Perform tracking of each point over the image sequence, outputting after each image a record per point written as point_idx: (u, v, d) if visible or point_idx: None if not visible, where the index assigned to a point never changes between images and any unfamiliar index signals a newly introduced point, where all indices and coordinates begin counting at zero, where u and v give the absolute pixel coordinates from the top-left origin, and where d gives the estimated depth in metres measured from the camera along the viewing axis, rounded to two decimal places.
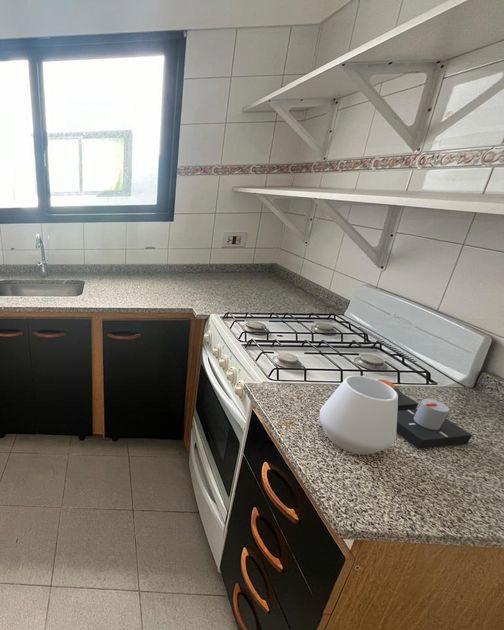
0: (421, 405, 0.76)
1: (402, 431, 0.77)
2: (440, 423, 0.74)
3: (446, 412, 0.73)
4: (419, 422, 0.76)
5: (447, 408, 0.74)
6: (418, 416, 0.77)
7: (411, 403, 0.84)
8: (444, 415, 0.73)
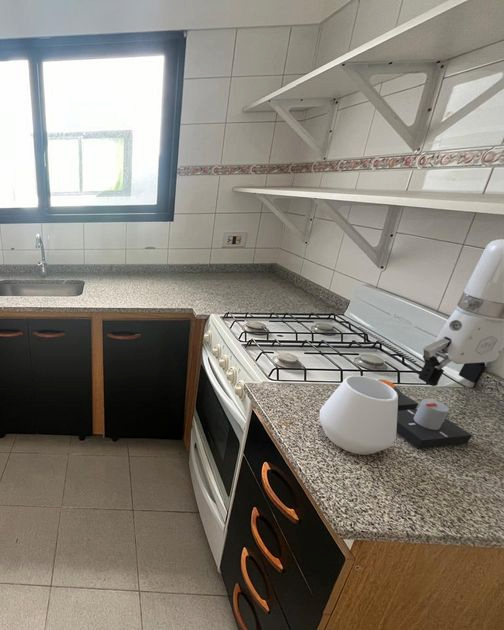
0: (421, 405, 0.76)
1: (402, 431, 0.77)
2: (440, 423, 0.74)
3: (446, 412, 0.73)
4: (419, 422, 0.76)
5: (447, 408, 0.74)
6: (418, 416, 0.77)
7: (411, 403, 0.84)
8: (444, 415, 0.73)
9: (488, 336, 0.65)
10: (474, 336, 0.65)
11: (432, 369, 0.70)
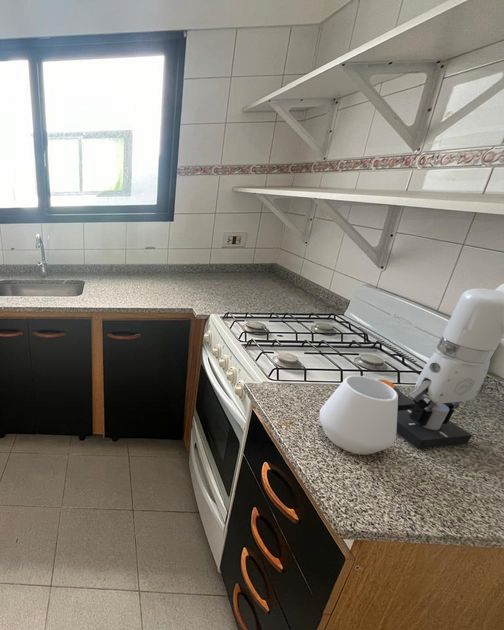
0: None
1: (402, 431, 0.77)
2: (440, 423, 0.74)
3: (446, 412, 0.73)
4: None
5: (447, 408, 0.74)
6: None
7: (411, 403, 0.84)
8: (444, 415, 0.73)
9: (465, 378, 0.69)
10: (452, 379, 0.69)
11: (421, 410, 0.74)
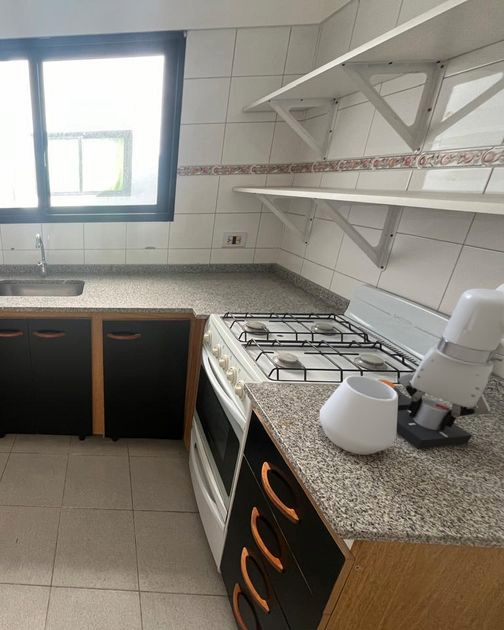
0: (444, 414, 0.73)
1: (402, 431, 0.77)
2: None
3: None
4: None
5: (429, 399, 0.77)
6: (441, 423, 0.75)
7: None
8: None
9: None
10: None
11: None
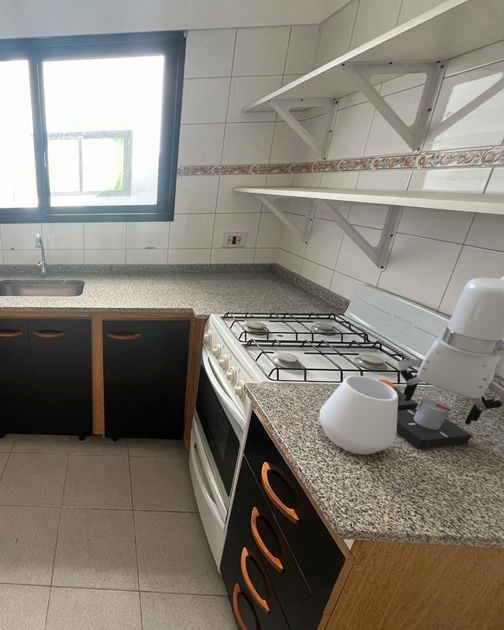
0: (444, 414, 0.73)
1: (402, 431, 0.77)
2: None
3: None
4: None
5: (429, 399, 0.77)
6: (441, 423, 0.75)
7: (411, 403, 0.84)
8: None
9: None
10: None
11: None
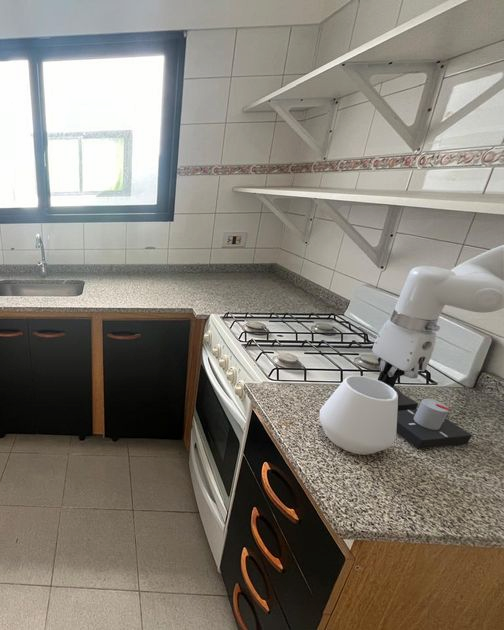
0: (444, 414, 0.73)
1: (402, 431, 0.77)
2: None
3: None
4: None
5: (429, 399, 0.77)
6: (441, 423, 0.75)
7: (411, 403, 0.84)
8: None
9: None
10: None
11: (396, 378, 0.84)
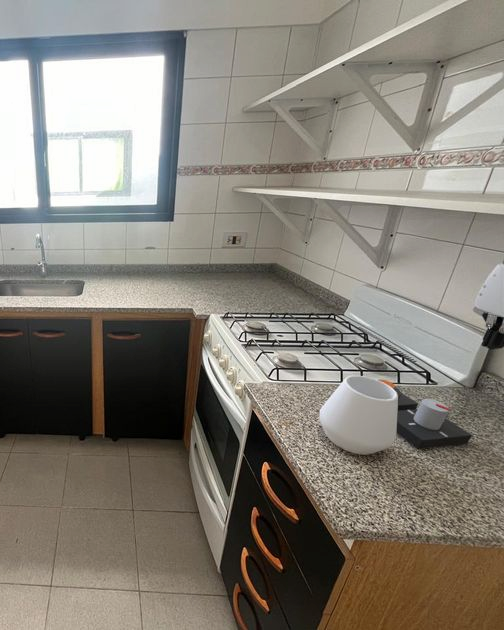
0: (444, 414, 0.73)
1: (402, 431, 0.77)
2: None
3: None
4: None
5: (429, 399, 0.77)
6: (441, 423, 0.75)
7: (411, 403, 0.84)
8: None
9: None
10: None
11: None
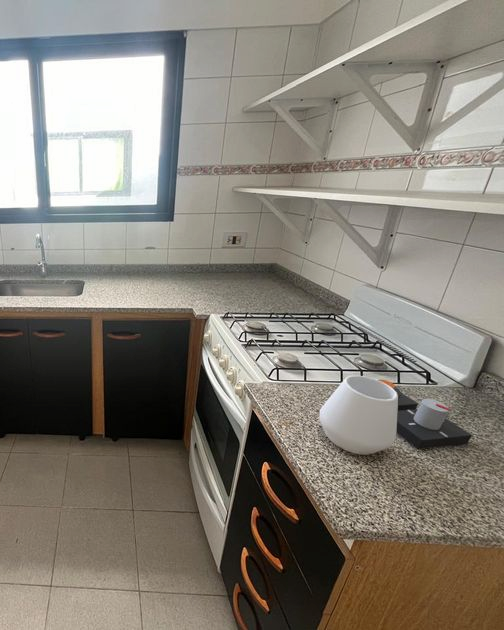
0: (444, 414, 0.73)
1: (402, 431, 0.77)
2: None
3: None
4: None
5: (429, 399, 0.77)
6: (441, 423, 0.75)
7: (411, 403, 0.84)
8: None
9: None
10: None
11: None
